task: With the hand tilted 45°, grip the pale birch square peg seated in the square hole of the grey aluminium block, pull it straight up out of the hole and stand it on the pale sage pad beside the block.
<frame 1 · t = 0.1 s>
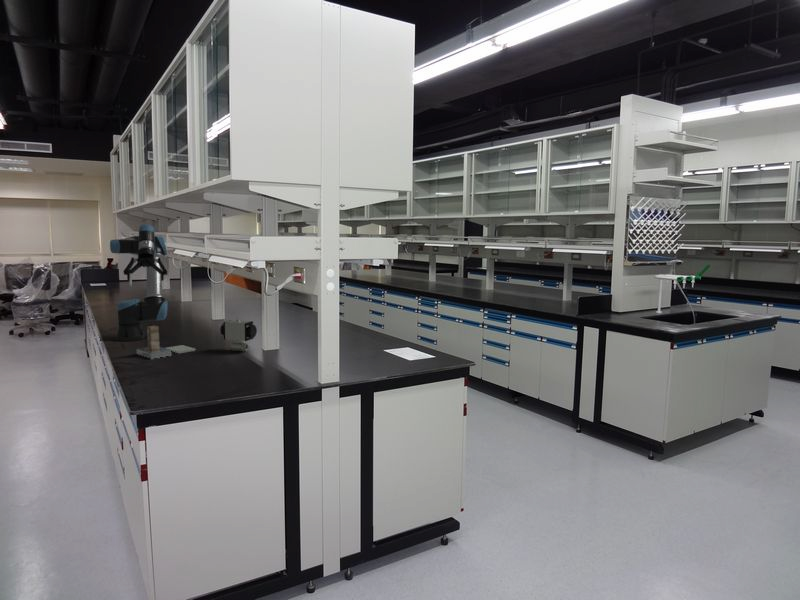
hand: (145, 285, 262), 36 cm above the table, tool tilted 35°, fingers open, 13 cm apart
bench grinder: (239, 351, 278), on the table
peg: (153, 340, 263), in the socket block
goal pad: (180, 350, 277), on the table
socket block: (154, 355, 264), on the table
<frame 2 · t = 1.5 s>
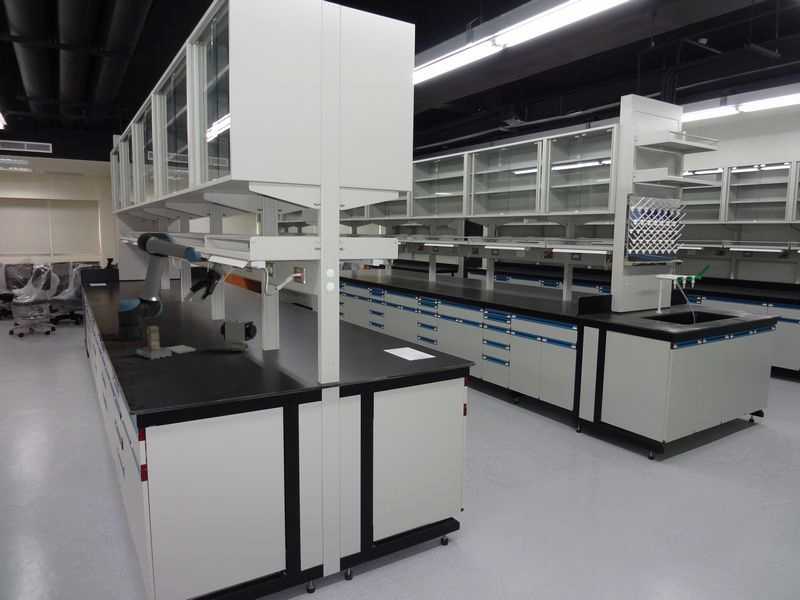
hand: (191, 302, 277), 26 cm above the table, tool tilted 45°, fingers open, 13 cm apart
nothing on the table moved.
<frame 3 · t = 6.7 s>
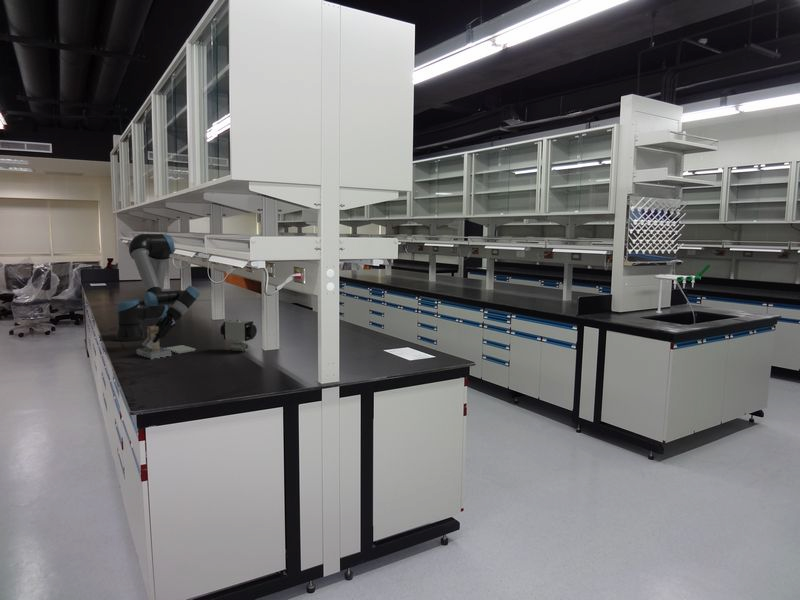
hand: (146, 346, 261), 5 cm above the table, tool tilted 45°, fingers closed on peg, 4 cm apart
peg: (153, 340, 263), in the socket block, touching gripper
everything else where it was.
when the fingers open (8 cm above the table, at t = 12.8 s): peg drops 1 cm, resting on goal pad.
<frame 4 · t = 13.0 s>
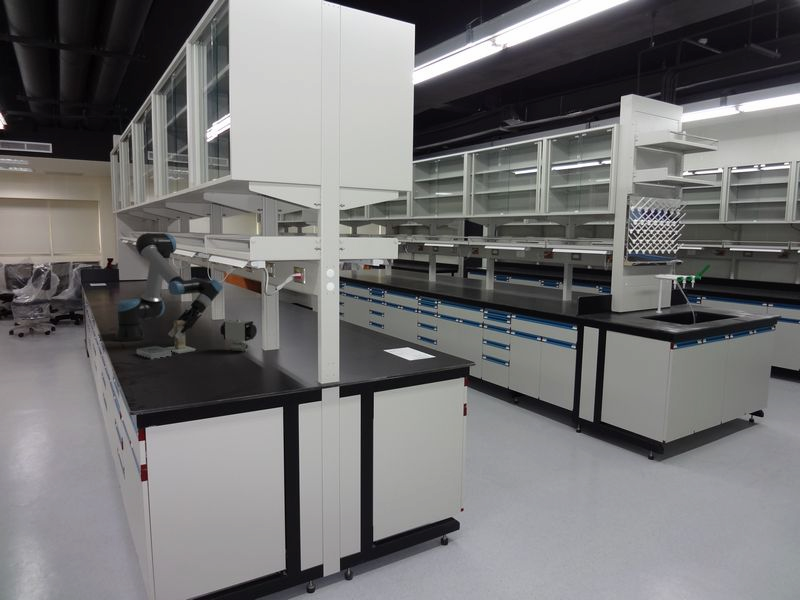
hand: (173, 336, 273), 8 cm above the table, tool tilted 45°, fingers open, 7 cm apart
peg: (179, 334, 276), on the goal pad, point 8 cm above the table
everything else where it was.
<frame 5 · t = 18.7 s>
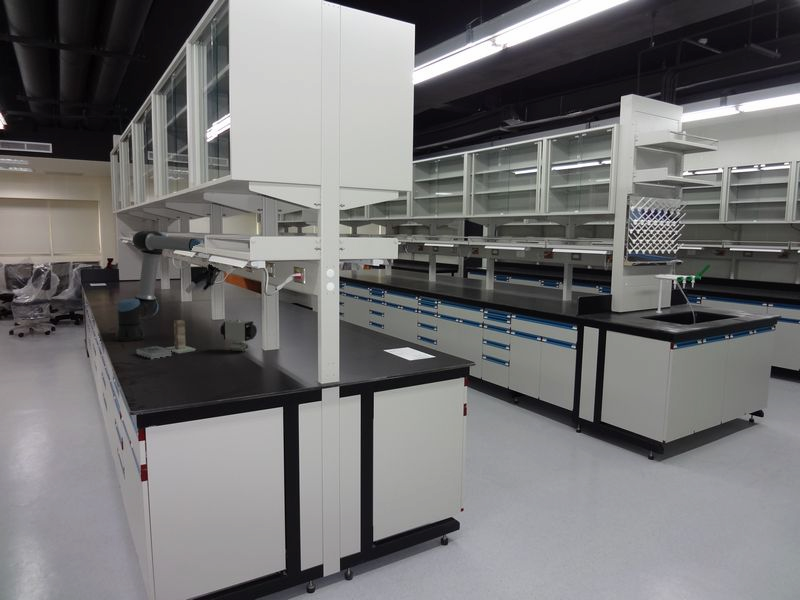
hand: (193, 292, 288), 30 cm above the table, tool tilted 45°, fingers open, 13 cm apart
nothing on the table moved.
at the end: peg inside the target area on the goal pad (0.0 cm from its centre), point 8.5 cm above the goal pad's base; peg tilted 0°; the gripper is holding nothing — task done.
